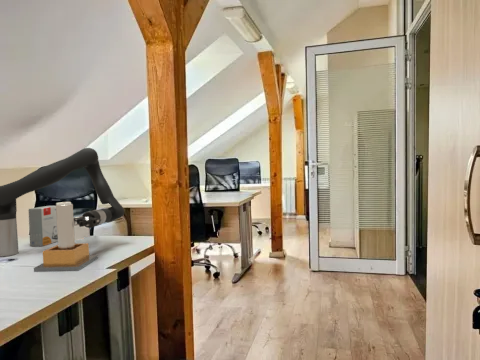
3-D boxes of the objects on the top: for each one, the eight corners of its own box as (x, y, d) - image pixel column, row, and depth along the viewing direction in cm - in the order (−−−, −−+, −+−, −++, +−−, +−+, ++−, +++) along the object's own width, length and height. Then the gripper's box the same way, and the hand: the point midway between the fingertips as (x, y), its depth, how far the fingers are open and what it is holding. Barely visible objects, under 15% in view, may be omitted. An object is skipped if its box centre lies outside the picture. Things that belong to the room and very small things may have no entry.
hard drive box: (42, 246, 192) (40, 208, 190) (29, 246, 193) (27, 209, 192) (61, 240, 207) (59, 205, 206) (49, 240, 208) (47, 205, 207)
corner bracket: (75, 240, 205) (73, 219, 204) (64, 238, 212) (63, 217, 211) (92, 237, 213) (91, 216, 213) (82, 235, 220) (81, 215, 219)
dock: (34, 271, 146) (32, 253, 146) (57, 259, 164) (56, 242, 164) (78, 270, 146) (77, 251, 145) (97, 258, 164) (96, 241, 163)
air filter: (69, 263, 151) (65, 203, 150) (55, 262, 153) (51, 203, 151) (79, 259, 158) (75, 201, 156) (65, 258, 159) (62, 201, 158)
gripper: (80, 210, 175) (56, 215, 159) (107, 210, 172) (85, 215, 156) (81, 226, 175) (57, 232, 160) (108, 226, 172) (86, 233, 156)
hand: (71, 224), depth 158 cm, fingers open, 8 cm apart
